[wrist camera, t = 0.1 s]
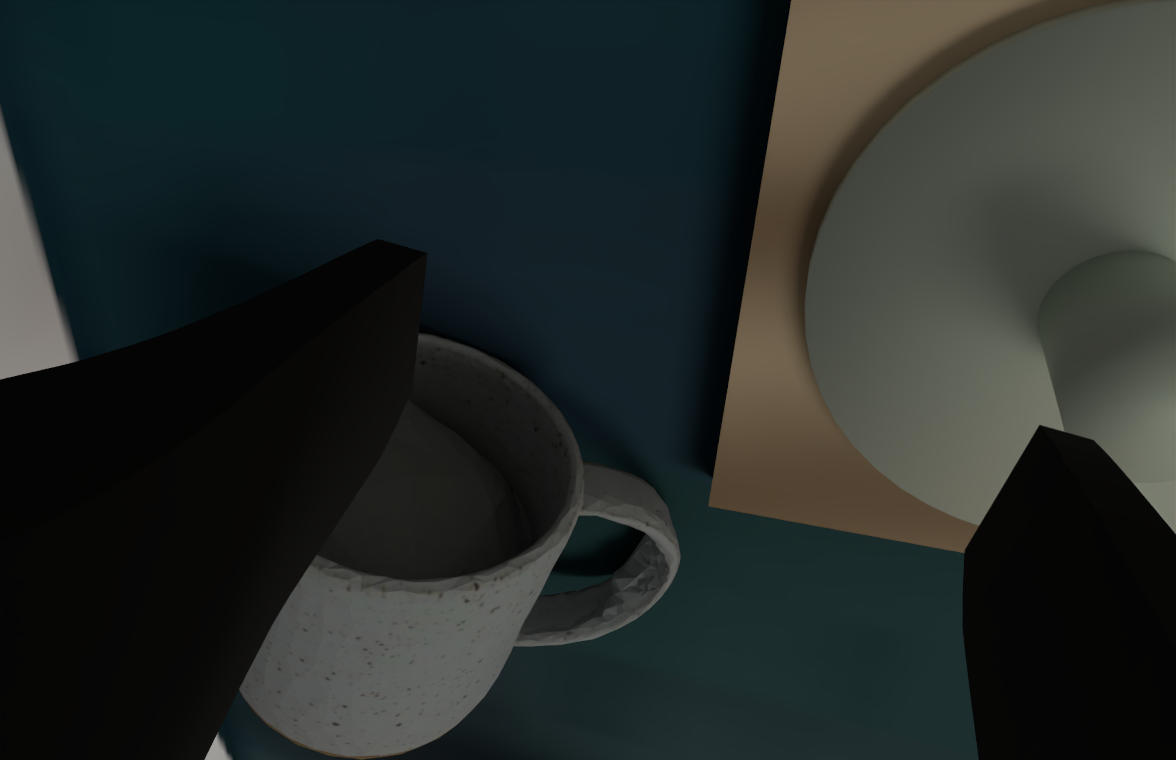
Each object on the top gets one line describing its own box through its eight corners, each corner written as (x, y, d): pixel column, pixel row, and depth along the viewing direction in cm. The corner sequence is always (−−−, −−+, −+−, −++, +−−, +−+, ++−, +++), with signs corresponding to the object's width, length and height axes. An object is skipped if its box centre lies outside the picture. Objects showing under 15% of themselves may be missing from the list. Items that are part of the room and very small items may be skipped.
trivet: (1314, 587, 24) (1331, 620, 23) (713, 479, 26) (708, 506, 25) (1748, -54, 15) (1797, -39, 15) (814, -140, 17) (812, -130, 17)
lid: (1298, 572, 22) (1365, 710, 19) (765, 476, 24) (752, 591, 21) (1648, 36, 15) (1836, 125, 12) (871, -45, 17) (873, 17, 14)
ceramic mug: (289, 513, 30) (147, 739, 24) (320, 286, 25) (150, 497, 19) (632, 633, 30) (580, 889, 24) (732, 431, 25) (698, 688, 19)
